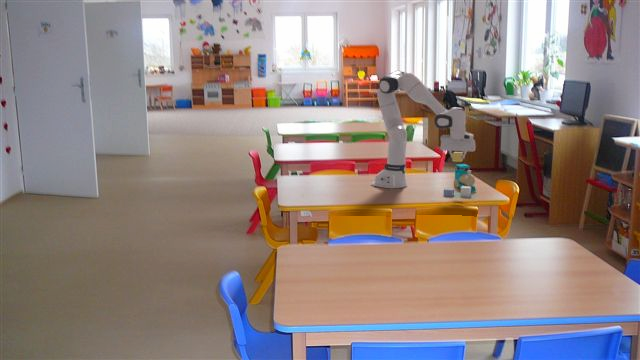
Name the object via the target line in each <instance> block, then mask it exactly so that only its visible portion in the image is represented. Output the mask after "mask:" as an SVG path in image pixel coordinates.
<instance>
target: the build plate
mask: <svg viewBox="0 0 640 360" xmlns="http://www.w3.org/2000/svg"><path fill="white" fill-rule="evenodd" d="M460 192H461V191H460ZM460 192H458V191H457V192H454V195H453V196H452V197H453V198H461V199H471V200H474V199H476V198H477V196H479V193H478V194H477V193H471V195H470V196H469V197H467V196H460Z"/></svg>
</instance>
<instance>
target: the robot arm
mask: <svg viewBox="0 0 640 360" xmlns="http://www.w3.org/2000/svg"><path fill="white" fill-rule="evenodd" d="M400 89H401V90H402V91H404V92H405V93H406V94H407V96H408V97H409V98H410V99H411V100H413V101H414V102H416V103H418V104H419V103H420V104H423V105H425V106H427V107H428V108H430V109H431V111H433V112H434V114H436V115H435V117H434V120H433V123H434V126H435V127H436V128H437V129H439V130H446V129H449V130H450V131H449V132H450V133H449V134H442V135H441V136H440V146H439V147H440V150H441V151H448V153H449V155H450V159H452V153H453V152H463V155H462V159H465V158H466V157H465V156H466V154H467V152H472V153H473V152H474V151H476V141H475V139H474V134H473V133H471V132H467V131H466V129H467V128H466V124H467V117H466V116H467V115H466V111H465V109H464V108H463V107H458V106H457V107H456V106H454V107H453V106H452V107H451V108H450V109H448V108H446V107H445V106H444V105H443V104H442V103H441V102H440V101H439V100H438V99H437V98H436V97H435V96H434V95H433V94H432V93H431V91H430V90H429V89H428V88H427V87H426V85H425V84H424V83H423V81H421V80H420V78H418V76H416V75H415V74H414V73H412V72H411V71H407V72H405V71H402V70H394V71H393V72H389V73H388V74H387V75H385V76H383V77H381V78H380V80H379V82H378V90H377V92H376V96H377V102H378V105H379V108H380V112H381V115H382V119H383V122H384V126H385V129H386V132H387V133H386V134H387V136H388V148H387V162H386V163H385V164H384V165H383V168H384V169H382V170H381V171H379V172H378V173H377V174H376V175H375V178H374V181H372V182H371V183H370V186H372V187H373V186H375V187H378V188H379V187H380V188H386V189H399V188H401V189H402V188H407V185H408V184H407V182H406V181H407V180H406V172H407V168H406V153H407V152H406V151H407V144H408V143H407V142H408V131H407V129H406V128H405V126H404V122H403V119H402V114H401V110H400V107H399V103H398V101H397V98H396V92H397V91H399V90H400Z"/></svg>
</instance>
